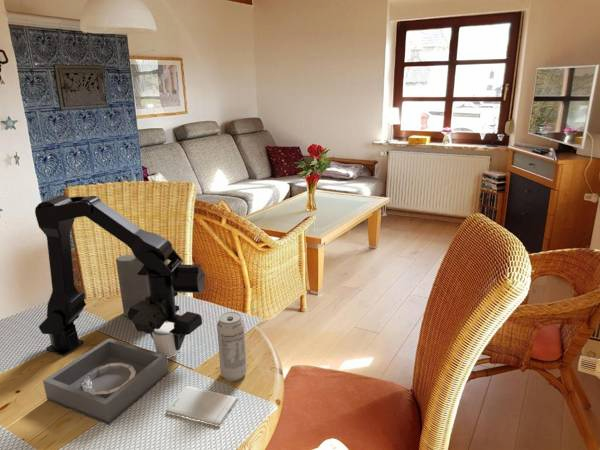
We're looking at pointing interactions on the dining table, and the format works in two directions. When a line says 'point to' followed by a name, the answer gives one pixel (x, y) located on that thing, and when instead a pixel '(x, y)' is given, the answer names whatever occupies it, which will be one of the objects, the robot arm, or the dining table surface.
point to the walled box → (106, 380)
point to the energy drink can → (231, 346)
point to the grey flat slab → (202, 405)
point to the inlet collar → (103, 370)
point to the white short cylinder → (165, 340)
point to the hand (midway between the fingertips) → (167, 346)
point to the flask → (131, 281)
